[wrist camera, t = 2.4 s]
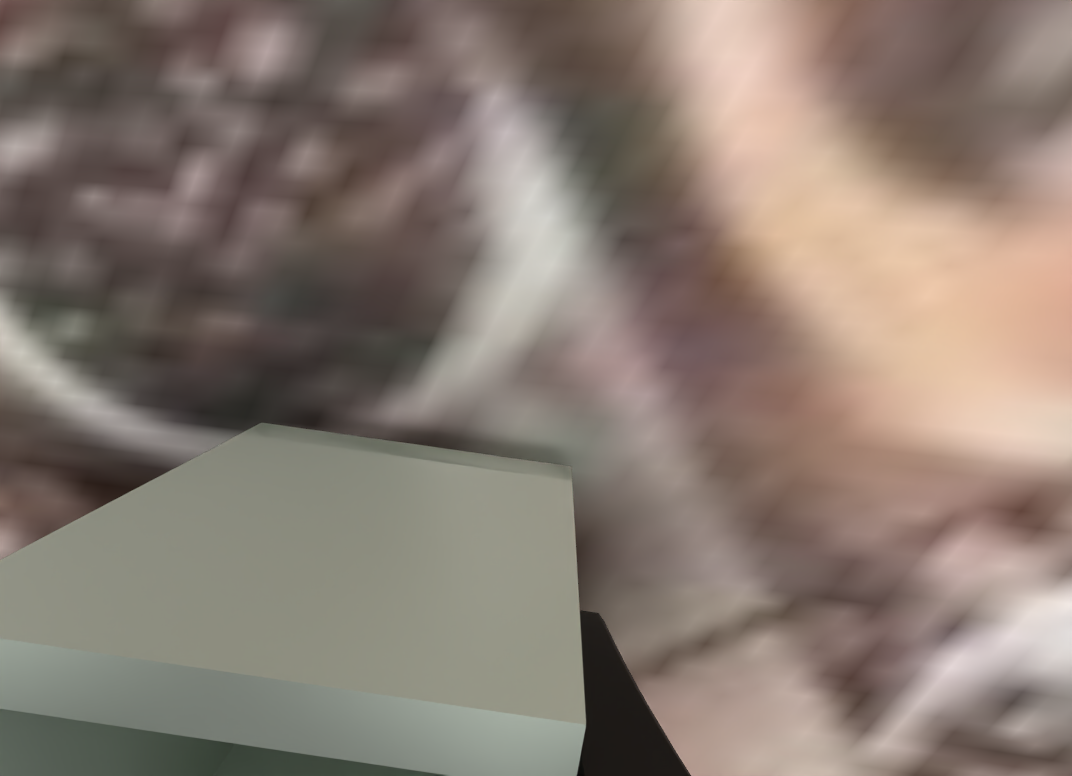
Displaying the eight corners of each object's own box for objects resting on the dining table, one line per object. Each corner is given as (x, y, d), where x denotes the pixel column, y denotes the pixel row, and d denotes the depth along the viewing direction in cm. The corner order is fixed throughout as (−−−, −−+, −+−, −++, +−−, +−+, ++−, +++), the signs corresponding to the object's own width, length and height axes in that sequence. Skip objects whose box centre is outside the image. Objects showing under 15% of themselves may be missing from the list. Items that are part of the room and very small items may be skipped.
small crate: (530, 727, 10) (501, 1186, 5) (255, 686, 10) (-43, 1100, 5) (571, 466, 9) (586, 724, 4) (261, 422, 9) (-115, 620, 4)
